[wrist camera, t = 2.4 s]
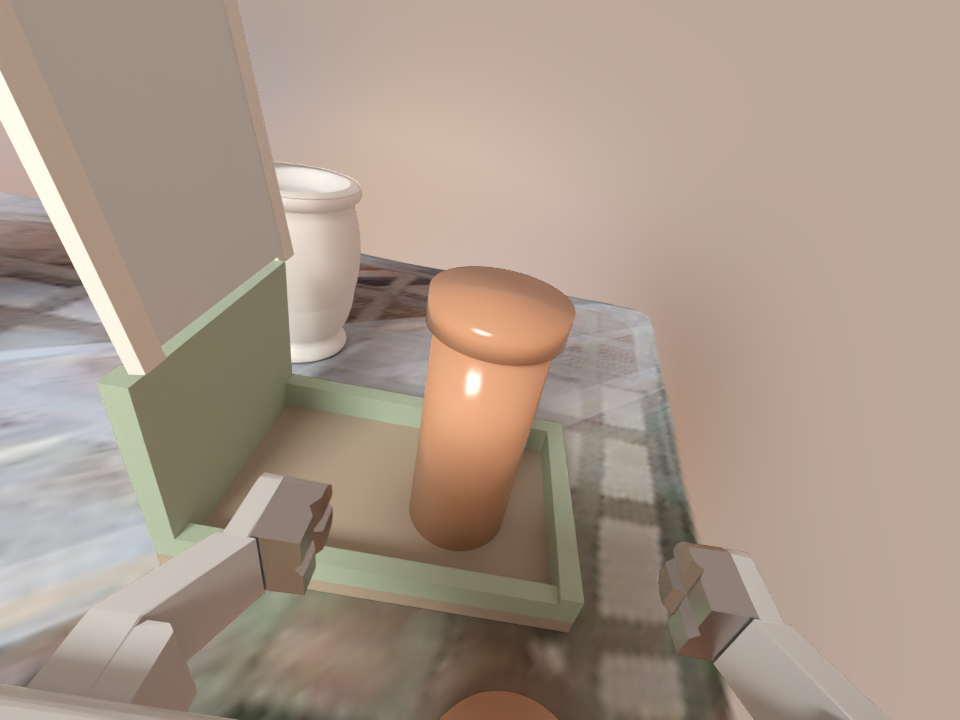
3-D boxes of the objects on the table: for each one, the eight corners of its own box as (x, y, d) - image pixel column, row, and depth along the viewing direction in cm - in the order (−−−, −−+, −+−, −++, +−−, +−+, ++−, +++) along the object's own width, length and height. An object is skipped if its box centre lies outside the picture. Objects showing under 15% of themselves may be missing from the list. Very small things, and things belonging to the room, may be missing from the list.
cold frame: (160, 564, 24) (96, 382, 17) (278, 401, 36) (266, 257, 29) (567, 632, 25) (651, 483, 18) (551, 451, 36) (598, 321, 30)
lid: (145, 374, 17) (128, 374, 17) (294, 254, 29) (283, 254, 29) (-336, -632, 7) (-376, -628, 7) (192, -196, 18) (176, -196, 19)
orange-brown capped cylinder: (391, 546, 26) (416, 314, 18) (414, 461, 32) (440, 257, 24) (508, 565, 26) (584, 345, 18) (509, 477, 32) (567, 281, 24)
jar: (214, 360, 38) (182, 176, 30) (266, 306, 47) (252, 152, 39) (339, 380, 39) (341, 206, 31) (368, 324, 48) (375, 176, 40)
